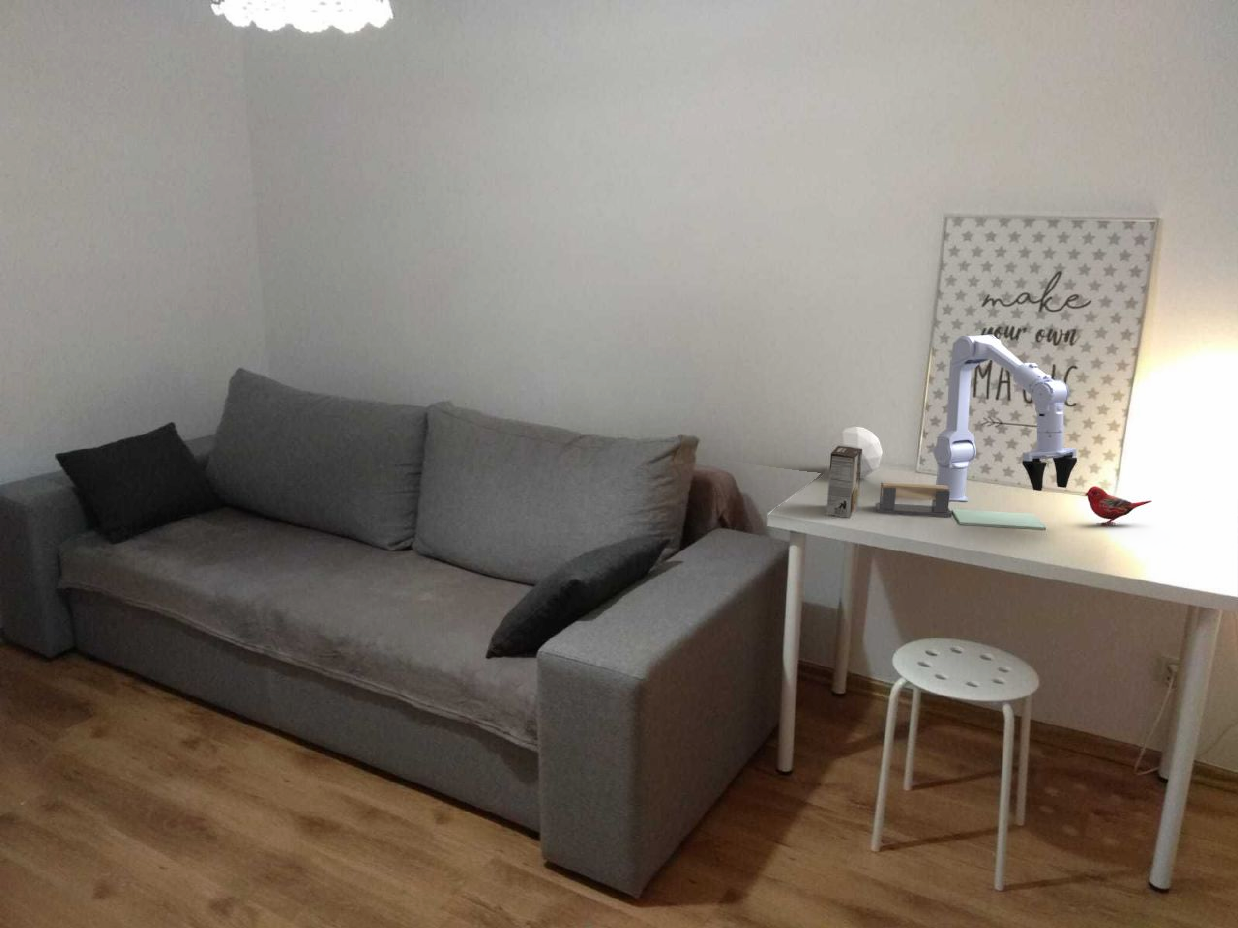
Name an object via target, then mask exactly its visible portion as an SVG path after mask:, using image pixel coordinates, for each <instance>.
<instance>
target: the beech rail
mask: <svg viewBox="0 0 1238 928" xmlns="http://www.w3.org/2000/svg"><path fill="white" fill-rule="evenodd" d="M881 483H882V490H881V489H880V494H882V496H883V488H884V487H886V488H896V496H895V498H899V499H900V498H905V499H919V500H920V499H921V500H932V499H934V500H936V493H937V490H939V491H949V488H948V486H944V485H936V484H923V483H922V484H921V483H906V482H905V483H904V482H892V481H891V482H890V481H889V482H886V481H882V482H881Z"/></svg>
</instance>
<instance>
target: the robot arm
mask: <svg viewBox="0 0 1238 928" xmlns="http://www.w3.org/2000/svg"><path fill="white" fill-rule="evenodd" d="M951 354H952V355H951V358H950V361H949V366H948V367H949V371H948V389H947V404H946V405H947V407H946V408H947V409H946V427H945V429H944V430H943V431H942V432H941V433H940V434H938V435H937V440H936V444H935V447H934V450H933V457H934V459H935V461H936V463H937V465H938V468H937V473H936V479H935V480H936V481H935V485H944V486H948V488H949V492H950V495H949V501H954V502H955V501H956V502H969V498H968V497H967V495H965V494H966V487H967V486H966V485H967V476H968V468H969V466H971V462H972V461H974V459H976V455H977V448H976V445H975V435H974V434H973V433H972V432H971V431H970V430H969V419H970V404H971V403H970V402H971V382H972V371H973V370H975V369H976V367H978V366H979V365H981V363H984V362H987V361H989V360H991V361H992V362H994V363H995V364H996V365H998V366H1000V367H1001V368H1003V369H1004V370H1005V371H1007V372H1008V373H1010V374H1012V380H1013V382H1014V383H1015V384H1017V385H1018V386H1019V387H1020V388H1021V389H1023V390H1024V391H1025V392H1027V393H1028V394H1030V397H1031V401H1032V403H1033V404H1034V411H1035V413H1036V450H1031V451H1025V452H1022V465H1023V468H1024V469H1025V470H1026V472H1027V474H1028V477H1029V480H1030V481H1029V482H1030V483H1031V488H1032V490H1033V491H1038V492H1041V491H1043V483H1044V482H1043V480H1044V479H1043V478H1044V474H1045V468H1046V466H1047V462H1044V461H1042V460H1050V459H1052V461H1053V464H1054V468H1055V473H1056V475H1055V477H1056V486H1057V488H1063V489H1066V488H1067V485H1068V483H1069V479H1070V476H1071V473H1072V471H1073V469H1074V467H1075V465H1076V464H1077V463H1078V458H1077V448H1075V447H1065V448H1064V404H1066V402H1067V401H1068V399H1069V398H1070V389H1069V387H1068V385H1067V384H1066V383H1065V382H1064V380H1061V379H1055V380H1054V379H1053V378H1052V376H1051V375H1049V374H1046V373H1044V371H1042V370H1040V369H1039V368H1038V364H1037V363H1035V362H1032V363H1031V362H1025V363H1023V362H1022V361H1021V360H1020V359H1019V358H1018V357H1016V356H1015V355H1014V354H1013V353H1012V352H1011V351H1010V350H1008V349H1007V348H1006V347H1005V346H1004V345H1003V344H1002V340H1001V339H998V338H997V337H996V336H995V335H993V334H985V335H983V334H982V335H961V336H960V337H958V338H957V339H956V340H955V341H954V342H953V343H952V351H951Z"/></svg>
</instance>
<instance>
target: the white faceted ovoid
mask: <svg viewBox="0 0 1238 928" xmlns="http://www.w3.org/2000/svg"><path fill="white" fill-rule="evenodd" d="M881 444H882V443H881V441H880V439H879V437H878V436H877V435H875V434H874V433H873V432H872V431H870V430H868V429H867V428H865V427H861V426H852V427H846V428H845V429H843V430H842V431H840V432H839V433H837V434H836V435H834V436H833V438H832V441H831V444H830V447H829V451H828V455H829V458H830V457H831V453H832V452H833V451H834V450H835V449H836V447H837V446H846V447H853V448H858V449H862V458H861V471H860V479H862V478H863V479H864V478H866V477H867V476H869V475H871V474H872V473H873V472H874V471H876V470H877V469H878V468H879V466H880V463H881V460H882V457H883V454H884V451H883V448H882V445H881Z"/></svg>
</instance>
